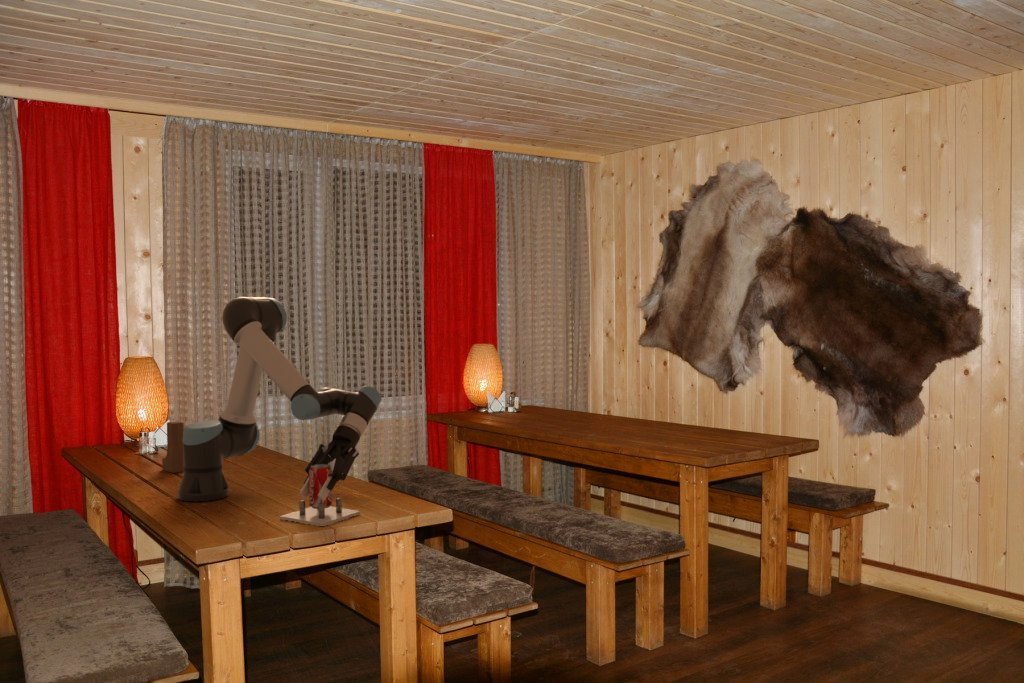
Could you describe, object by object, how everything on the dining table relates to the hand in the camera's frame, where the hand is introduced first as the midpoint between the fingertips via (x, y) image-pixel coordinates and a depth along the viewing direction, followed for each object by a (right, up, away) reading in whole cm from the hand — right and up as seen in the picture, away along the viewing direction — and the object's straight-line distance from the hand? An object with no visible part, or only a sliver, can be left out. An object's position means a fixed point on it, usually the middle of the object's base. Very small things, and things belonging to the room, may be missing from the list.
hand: (311, 496), depth 242 cm
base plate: (+2, -6, +3) cm, 7 cm away
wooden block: (-67, -3, +69) cm, 96 cm away
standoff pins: (+2, -6, +3) cm, 7 cm away
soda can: (+2, -4, +3) cm, 5 cm away
